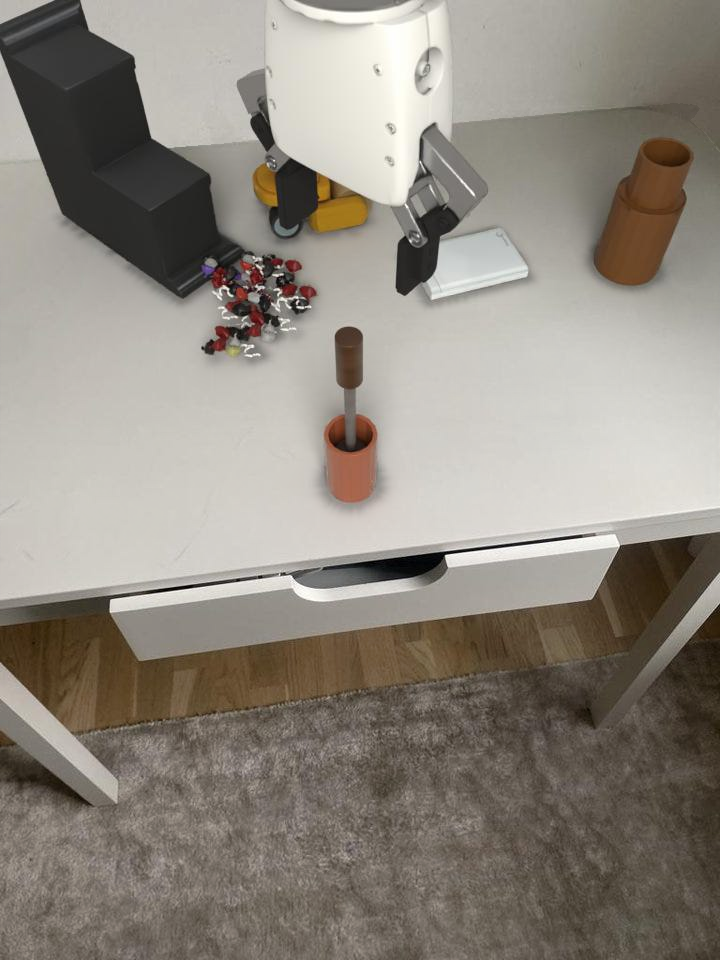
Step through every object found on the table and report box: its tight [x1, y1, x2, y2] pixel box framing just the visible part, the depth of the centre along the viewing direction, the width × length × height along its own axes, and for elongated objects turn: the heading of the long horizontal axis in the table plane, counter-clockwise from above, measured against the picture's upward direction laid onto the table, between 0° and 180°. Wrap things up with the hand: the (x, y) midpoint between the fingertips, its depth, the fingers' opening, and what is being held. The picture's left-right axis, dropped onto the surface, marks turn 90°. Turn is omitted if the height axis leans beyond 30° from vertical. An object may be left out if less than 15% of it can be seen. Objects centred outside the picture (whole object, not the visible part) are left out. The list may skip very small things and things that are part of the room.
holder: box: [323, 413, 378, 504], centre depth 72 cm, size 5×5×8 cm
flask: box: [593, 136, 695, 286], centre depth 87 cm, size 8×8×15 cm
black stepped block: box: [0, 0, 246, 299], centre depth 86 cm, size 23×11×24 cm, turn 49°
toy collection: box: [200, 250, 318, 358], centre depth 87 cm, size 15×14×5 cm
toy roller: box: [252, 162, 373, 240], centre depth 94 cm, size 9×14×10 cm, turn 103°
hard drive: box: [420, 227, 530, 301], centre depth 92 cm, size 2×8×12 cm
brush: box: [334, 326, 366, 452], centre depth 67 cm, size 3×3×20 cm
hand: (355, 249), depth 49 cm, fingers open, 9 cm apart
